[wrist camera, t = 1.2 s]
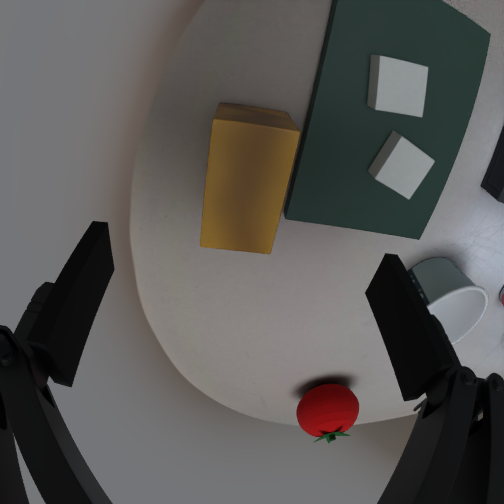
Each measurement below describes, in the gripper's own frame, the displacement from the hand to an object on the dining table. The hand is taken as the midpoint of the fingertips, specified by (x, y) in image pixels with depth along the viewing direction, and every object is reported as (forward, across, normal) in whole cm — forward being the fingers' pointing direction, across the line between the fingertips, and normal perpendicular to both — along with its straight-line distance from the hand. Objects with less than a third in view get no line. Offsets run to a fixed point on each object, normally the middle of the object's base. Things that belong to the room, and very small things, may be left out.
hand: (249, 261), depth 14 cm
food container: (+12, +24, -11) cm, 29 cm away
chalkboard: (+12, +11, +7) cm, 18 cm away
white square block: (+10, +12, +3) cm, 16 cm away
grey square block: (+10, +9, +9) cm, 17 cm away
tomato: (+12, +19, -36) cm, 42 cm away
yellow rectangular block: (+12, 0, 0) cm, 12 cm away
